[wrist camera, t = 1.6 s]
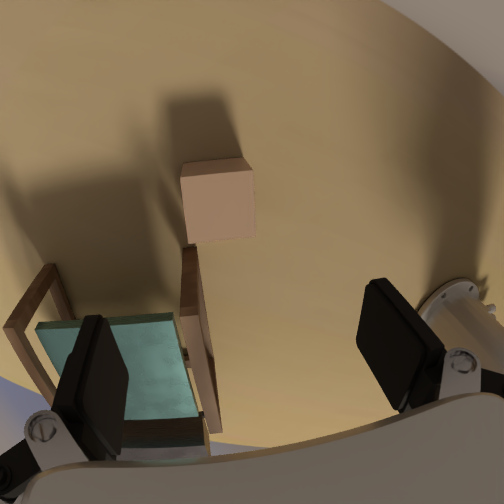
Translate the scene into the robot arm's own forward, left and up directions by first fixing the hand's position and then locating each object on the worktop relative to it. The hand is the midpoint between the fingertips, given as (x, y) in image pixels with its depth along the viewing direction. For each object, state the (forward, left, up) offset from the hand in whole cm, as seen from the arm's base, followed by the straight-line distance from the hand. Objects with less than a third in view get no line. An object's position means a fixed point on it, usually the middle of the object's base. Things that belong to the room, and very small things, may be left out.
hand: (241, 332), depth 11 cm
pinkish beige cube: (0, 0, -18) cm, 18 cm away
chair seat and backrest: (+10, +17, -12) cm, 23 cm away
